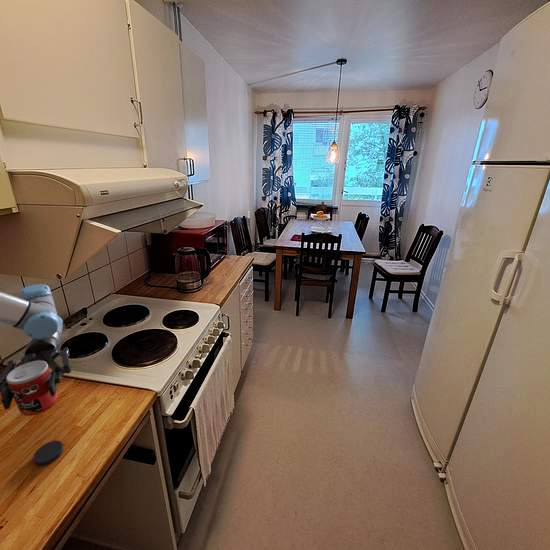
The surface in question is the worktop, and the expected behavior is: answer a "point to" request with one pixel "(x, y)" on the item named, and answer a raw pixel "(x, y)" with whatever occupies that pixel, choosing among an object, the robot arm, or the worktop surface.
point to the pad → (48, 453)
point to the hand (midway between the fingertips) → (29, 397)
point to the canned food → (31, 388)
